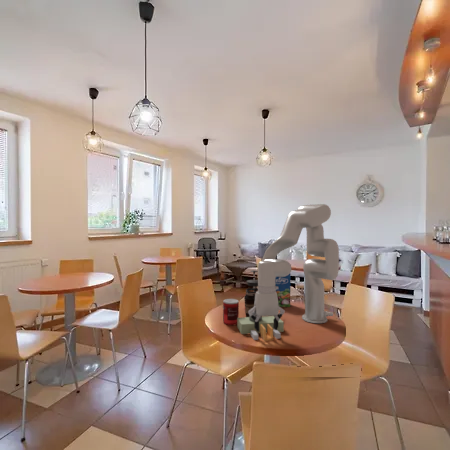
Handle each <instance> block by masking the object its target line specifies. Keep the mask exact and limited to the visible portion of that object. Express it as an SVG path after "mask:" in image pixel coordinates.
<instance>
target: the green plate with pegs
mask: <svg viewBox="0 0 450 450" xmlns="http://www.w3.org/2000/svg"><path fill="white" fill-rule="evenodd" d="M252 314H253V315H254V316H255V315H256V313H255V312H253V313H252ZM274 319H275V318H274V316H260V318H259V320H258V322H259V331H257V330H256V329H255V327H254V320H253V319H252V318H251V316H250V315H249V317H246V316H245V317H239V318H237V324H236V325H237V326H236V328H237V329H238V331H239V333H240V334H241V335H246V334H247V335H248V334H249V335H250V336H251V338H252V339H253V341H256V340H257V341H258V340H259V334H260V324H262V325H263V326H264V328H265V329H266V333H267V324H269V325H270V326H271V327H272V328H273V338H275V339H276V340H277V339H282V338H281V337H282V335H281V334H282V332H283V333H284V329H285V328H284V326H285V323H284V321H283V320H282V319H281V318H280V319H279V321H278V327H277V330H275V329H274Z"/></svg>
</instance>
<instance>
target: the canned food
mask: <svg viewBox="0 0 450 450" xmlns="http://www.w3.org/2000/svg"><path fill="white" fill-rule="evenodd" d="M239 304H240V302H239V299H236V298H226V299H224V300H223V301H222V308H223V310H222V311H223V312H222V316H223V317H222V321H223V323H224V324H225V325H227V326H234V325H237V318H240V317H239V313H240V312H239V307H240V306H239Z"/></svg>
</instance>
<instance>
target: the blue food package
mask: <svg viewBox="0 0 450 450" xmlns="http://www.w3.org/2000/svg"><path fill="white" fill-rule="evenodd" d="M275 285H276V286H278V289H277V290H276V293H277V297H278V306H279V307H281V308H290V307H291V273H290V274H289V275H287V276H285V277H275Z"/></svg>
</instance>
